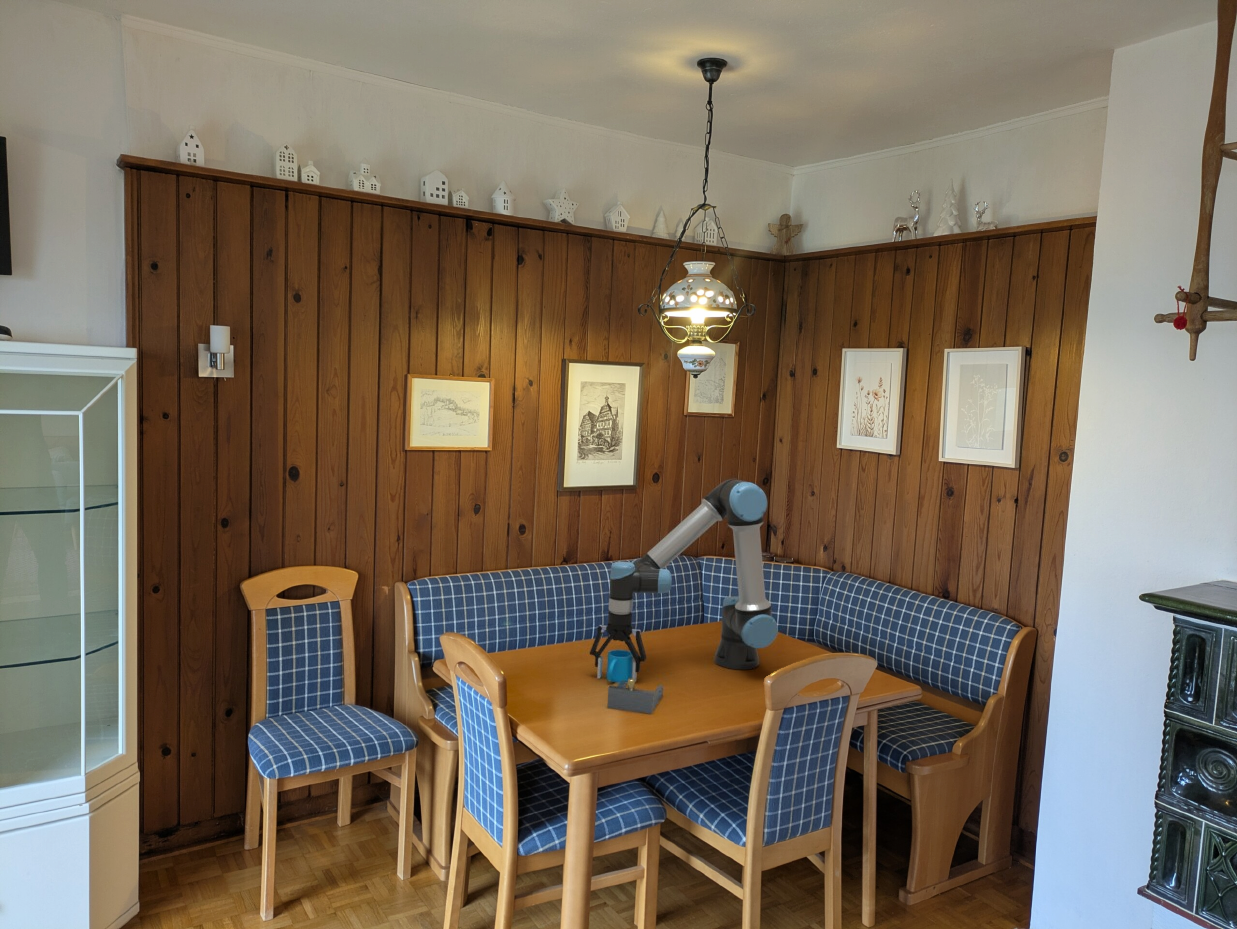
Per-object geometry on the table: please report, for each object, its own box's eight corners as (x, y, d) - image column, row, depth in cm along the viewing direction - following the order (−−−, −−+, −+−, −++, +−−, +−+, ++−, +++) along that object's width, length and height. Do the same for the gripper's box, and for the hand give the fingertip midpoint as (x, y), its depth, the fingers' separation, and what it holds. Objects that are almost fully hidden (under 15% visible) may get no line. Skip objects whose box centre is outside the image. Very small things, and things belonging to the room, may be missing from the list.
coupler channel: (662, 695, 266) (664, 666, 265) (651, 714, 250) (652, 683, 249) (621, 689, 269) (622, 661, 268) (607, 707, 253) (608, 677, 252)
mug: (612, 672, 285) (613, 648, 284) (635, 677, 282) (637, 652, 281) (597, 683, 274) (598, 658, 273) (621, 688, 271) (622, 662, 270)
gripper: (658, 612, 277) (654, 680, 279) (588, 604, 282) (585, 671, 284) (653, 618, 269) (649, 688, 271) (581, 610, 275) (578, 678, 277)
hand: (616, 679), depth 278 cm, fingers open, 11 cm apart
